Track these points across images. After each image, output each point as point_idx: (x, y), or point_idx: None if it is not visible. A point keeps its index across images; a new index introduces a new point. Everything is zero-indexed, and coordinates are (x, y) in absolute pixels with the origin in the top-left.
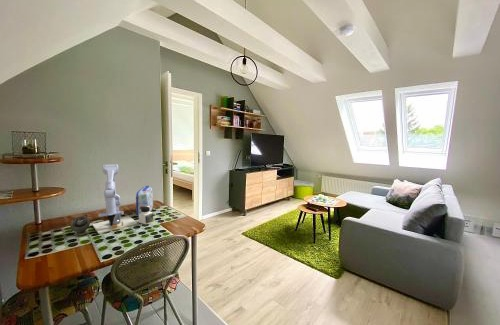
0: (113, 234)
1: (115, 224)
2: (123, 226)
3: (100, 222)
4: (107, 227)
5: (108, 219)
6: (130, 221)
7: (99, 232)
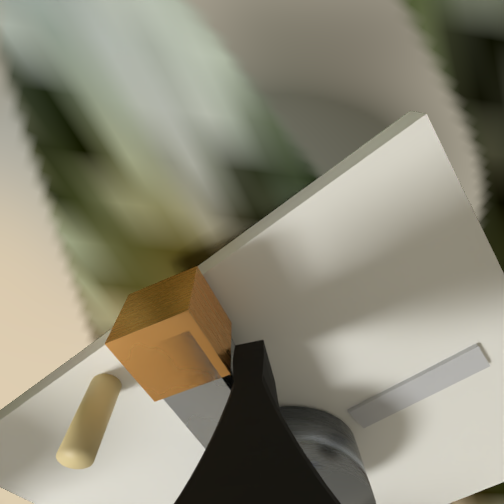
0: (49, 16)
1: (140, 345)
2: (78, 358)
3: (491, 480)
4: (332, 333)
5: (321, 482)
6: (85, 490)
7: (405, 123)
